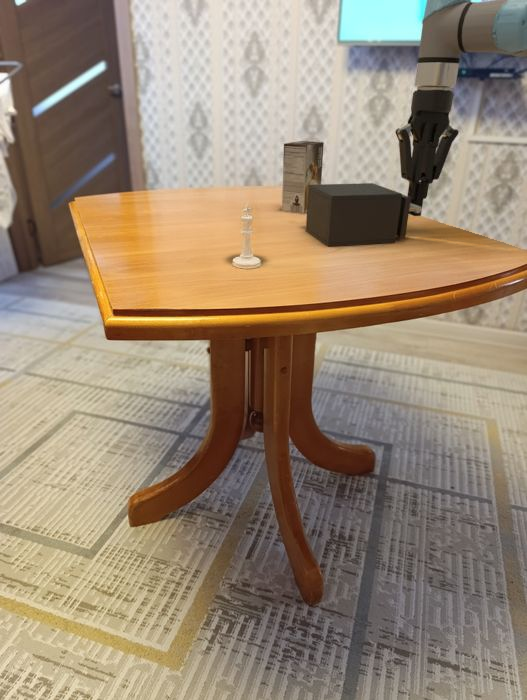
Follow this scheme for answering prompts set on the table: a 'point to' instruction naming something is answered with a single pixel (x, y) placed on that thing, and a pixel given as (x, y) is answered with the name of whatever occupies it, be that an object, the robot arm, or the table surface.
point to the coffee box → (300, 173)
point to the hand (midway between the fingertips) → (414, 214)
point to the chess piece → (246, 244)
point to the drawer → (405, 214)
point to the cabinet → (353, 214)
